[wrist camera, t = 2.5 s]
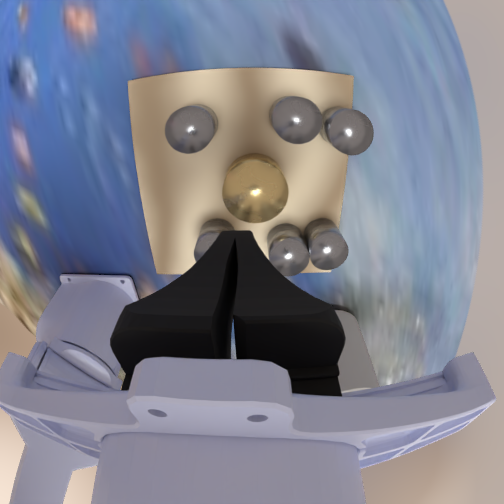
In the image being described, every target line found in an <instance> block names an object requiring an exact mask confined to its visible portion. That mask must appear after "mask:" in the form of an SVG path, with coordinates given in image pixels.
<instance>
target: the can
mask: <svg viewBox="0 0 504 504" xmlns="http://www.w3.org/2000/svg"><path fill="white" fill-rule="evenodd" d="M335 312H336V313H337V315H338V317H339V319H340V321H341V324H342V326H343V329H344V333H345V337H346V340H345V346H344V348H343V351H342V353H341V356H340V359H339V361H338V367H339V371H340V374H339V376H338V380H339V384H340V388H341V393H346V392H353V391H359V390H365V389H371V388H376V387H380V386H379V382H378V379H377V376H376V373H375V370H374V367H373V364H372V361H371V358H370V355H369V353H368V350H367V347H366V344H365V341H364V338H363V336H362V333H361V330H360V327H359V325H358V322H357V320H356V318H355V317H354V316H353V315H352V314H351V313H348V312H345V311H342V310H335Z"/></svg>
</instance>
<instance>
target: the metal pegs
mask: <svg viewBox="0 0 504 504" xmlns="http://www.w3.org/2000/svg"><path fill="white" fill-rule="evenodd" d="M269 120H270V123H271V125H272V127H273V128H274V130H275V131H276V133H277V134H278V135H279V136H280V137H281V138H282V139H283V140H285V141H287V142H289V143H292V144H304V143H307V142H310V141H311V140H313V139H314V138H315V137H316V136H317V135H318V134H319V133H320V135H321V137H322V138H323V139H324V140H325V141H326V142H328V143H329V144H330V145H332V146H333V147H334V148H336V149H337V150H338V151H340V152H341V153H344V154H346V155H358V154H360V153H362V152H364V151H365V150H366V149H368V147H369V146H370V144H371V142H372V140H373V133H374V132H373V126H372V124H371V121H370V120H369V118H368V117H367V116H366V115H365V114H363V113H361V112H359V111H356V110H352V109H348V108H344V107H340V106H334V107H330V108H328V109H326V110H325V111H324V112H323V113H322V114H321V112H320V110H319V108H318V107H317V106H316V104H314V103H313V102H312V101H311V100H309V99H306V98H303V97H297V96H284V97H281V98H279V99H278V100H276V101H275V102H274V103H273V105H272V106H271V108H270V111H269ZM217 129H218V118H217V115H216V114H215V112H214V111H213V110H212V109H211V108H210V107H208V106H206V105H202V104H193V105H190V106H186V107H183V108H180V109H178V110H176V111H175V112H173V113H172V114H171V115H170V117H169V118H168V120H167V122H166V125H165V136H166V139H167V141H168V143H169V144H170V146H171V147H172V148H173V149H175V150H176V151H178V152H181V153H185V154H192V153H196V152H199V151H201V150H203V149H204V148H205V147H206V146H207V145H208V144H209V143H210V141H211V140H212V138H213V137H214V135H215V134H216V132H217ZM232 230H235V229H234V227H233V226H232V224H231V223H229V222H228V221H226V220H224V219H218V218H216V219H211V220H208V221H206V222H205V223H204V224H203V225H202V227H201V229H200V232H199V235H198V239H197V242H196V246H195V249H194V258H195V261H196V262H197V261H198V260H199V259H200V258H201V257H202V256H203V255H204V253H205V252H206V251H207V250H208V249H209V247H210V246H211V245H212V244H213V242H214V241H215V240H216V238H217V237H218V235H219V234H220V233H221V232H222V231H232ZM267 247H268V255H269V261H270V262H271V263H272V264H273V266H274V267H275V268H276V269H277V270H278V271H279V272H280V273H281V274H282V275H283V276H294V275H297V274H299V273H301V272H302V271H303V270H304V269H305V268H306V267H307V265H308V263H309V259H310V260H311V262H312V264H313V265H314V266H315V267H316V268H318V269H321V270H332V269H335V268H337V267H339V266H340V265H341V264H342V263H343V262H344V261H345V260H346V258H347V256H348V246H347V244H346V242H345V240H344V238H343V236H342V235H341V233H340V231H339V229H338V228H337V226H336V224H335V223H334V222H333V221H332V220H330V219H327V218H318V219H315V220H313V221H311V222H310V223H309V224H308V225H307V226H306V228H305V230H304V233H303V235H302V232H301V230H300V229H299V228H298V227H297V226H295V225H293V224H289V223H283V224H279V225H277V226H275V227H273V228H272V229H271V230H270V232H269V233H268V236H267Z"/></svg>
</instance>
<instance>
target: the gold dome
mask: <svg viewBox="0 0 504 504" xmlns="http://www.w3.org/2000/svg"><path fill="white" fill-rule="evenodd" d="M288 195H289V189H288V184H287V181H286V179H285V176H284V174H283V171H282V169H281V167H280V166H279V164H278V163H277V162H276V161H275V160H274V159H272V158H271V157H269V156H267V155H264V154H259V153H250V154H246V155H243V156H241V157H239V158H237V159H236V160H235V161H234V162H232V164H231V165H230V166H229V168H228V170H227V172H226V175H225V179H224V184H223V188H222V197H223V202H224V204H225V206H226V208H227V210H228V211H229V212H230V213H231V214H232V215H233V216H234V217H236V218H237V219H239V220H241V221H244V222H248V223H263V222H266V221H269V220H271V219H273V218H275V217H276V216H277V215H279V214H280V213H281V211H282V210H283V209H284V207H285V206H286V203H287V200H288Z"/></svg>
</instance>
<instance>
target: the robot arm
mask: <svg viewBox="0 0 504 504" xmlns="http://www.w3.org/2000/svg"><path fill="white" fill-rule="evenodd" d="M60 280H61V282H62V284H61V286H60V287H59V289H58V290H57V292H56V293H55V294H54V296H53V298H52V299H51V301H50V302H49V304H48V305H47V307H46V308H45V310H44V312H43V313H42V315H41V316H40V318H39V321H38V324H37V329H36V340H37V342H36V343H35V345H34V346H33V348H32V350H31V352H30V354H29V356H28V358H26V357H24V356H20V355H17V354H15V353H11V352H9V353H8V355H7V357H6V359H5V361H4V362H3V364H2V366H1V368H0V408H1V409H2V410H4V411H5V412H6V413H7V414H8V415H9V416H10V417H11V419H12V421H13V423H14V425H15V427H16V429H17V430H18V432H19V434H20V436H21V437H22V439H23V441H24V442H25V447H24V450H23V453H22V457H21V460H20V463H19V467H18V470H17V474H16V478H15V481H14V486H13V490H12V494H11V499H10V504H63V501H64V497H65V494H66V491H67V487H68V484H69V481H70V478H71V475H72V471H74V470H77V469H83V468H88V467H93V466H98V467H97V472H96V477H95V483H94V489H93V495H92V501H91V504H366V500H365V493H364V487H363V481H362V475H361V470H360V469H361V468H365V467H368V466H371V465H375V464H378V463H381V462H384V461H387V460H390V459H393V458H396V457H399V456H401V455H404V454H406V453H409V452H411V451H414V450H416V449H419V448H421V447H423V446H426V445H428V444H431V443H433V442H435V441H437V440H440V439H442V438H444V437H446V436H449V435H451V434H453V433H455V432H457V431H459V430H461V429H463V428H464V427H465V426H467V425H468V424H469V423H470V422H472V421H473V420H474V419H475V418H477V417H478V416H479V415H480V414H481V413H482V412H484V411H485V410H486V409H487V408H488V407H489V406H490V405H491V404H492V403H494V402H495V400H496V397H495V395H494V392H493V390H492V388H491V386H490V384H489V382H488V380H487V377H486V375H485V373H484V371H483V369H482V367H481V365H480V364H479V362H478V360H477V358H476V356H475V354H474V352H471V353H468V354H465V355H462V356H458V357H456V358H454V359H452V360H451V361H449V362H448V363H447V365H446V366H445V367H444V369H443V371H442V372H439V373H435V374H432V375H428V376H424V377H420V378H417V379H413V380H409V381H404V382H400V383H396V384H391V385H386V386H381V387H376V388H371V389H365V390H359V391H353V392H346V393H341V388H340V384H339V380H338V376H339V374H340V371H339V367H338V361H339V359H340V356H341V353H342V351H343V348H344V346H345V340H346V337H345V333H344V329H343V326H342V324H341V321H340V319H339V317H338V315H337V313H336V312H335V310H334V308H333V306H332V305H330V304H328V303H326V302H324V301H322V300H320V299H317V298H315V297H313V296H312V295H310V294H308V293H306V292H305V291H303V290H301V289H300V288H298V287H297V286H296V285H294V284H293V283H292V282H290V281H289V280H288V279H286V278H285V277H284V276H283V275H282V274H281V273H280V272H279V271H278V270H277V269H276V268H275V267H274V266H273V264H272V263H271V262H270V261H269V260H268V258H267V257H266V256H265V254H264V253H263V251H262V250H261V248H260V247H259V245H258V243H257V242H256V240H255V238H254V235H253V232H252V231H251V230H232V231H222V232H221V233H220V234H219V235H218V237H217V238H216V240H215V241H214V242H213V244H212V245H211V246H210V247H209V249H208V250H207V251H206V252H205V253H204V255H203V256H202V257H201V258H200V259H199V260H198V261H197V262H196V263H195V264H194V265H193V266H192V267H191V268H190V269H189V270H188V271H186V272H185V273H184V274H183V275H181V276H180V277H179V278H177V279H176V280H174V281H173V282H171V283H170V284H168V285H167V286H165V287H164V288H162V289H160V290H159V291H157V292H155V293H153V294H151V295H149V296H147V297H145V298H143V299H140V300H139V298H138V295H137V292H136V289H135V286H134V283H133V280H132V278H131V277H130V276H120V275H78V274H61V276H60ZM123 280H124V281H123ZM233 320H234V333H235V346H236V358H237V359H231V332H232V322H233ZM120 367H122V369H123V370H124V372H125V373H126V375H125V379H124V382H123V386H122V389H121V390H120V388H121V385H122V381H121V380H120V379H118V378H117V377H118V373H119V370H120Z"/></svg>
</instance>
